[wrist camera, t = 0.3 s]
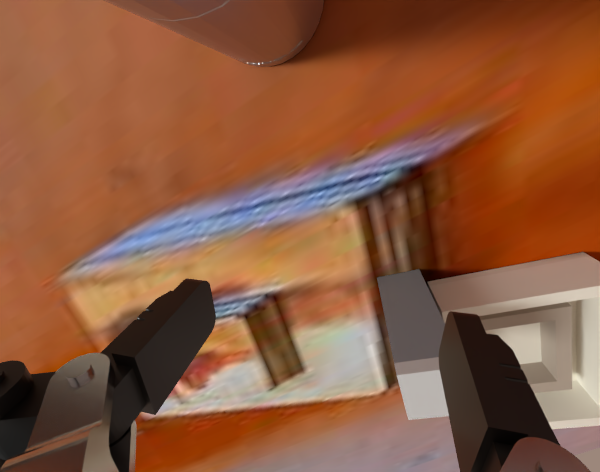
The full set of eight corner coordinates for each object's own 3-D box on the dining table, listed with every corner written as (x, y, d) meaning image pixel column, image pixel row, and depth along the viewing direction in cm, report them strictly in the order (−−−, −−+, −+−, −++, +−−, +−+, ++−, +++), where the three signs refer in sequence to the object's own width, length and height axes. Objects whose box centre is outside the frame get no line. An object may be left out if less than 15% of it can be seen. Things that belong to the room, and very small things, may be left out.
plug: (377, 277, 30) (396, 375, 19) (419, 269, 29) (465, 366, 18) (385, 310, 32) (408, 419, 21) (426, 303, 31) (472, 413, 20)
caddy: (427, 281, 30) (442, 311, 25) (583, 251, 27) (630, 280, 22) (448, 394, 35) (464, 436, 30) (582, 379, 32) (620, 423, 27)
